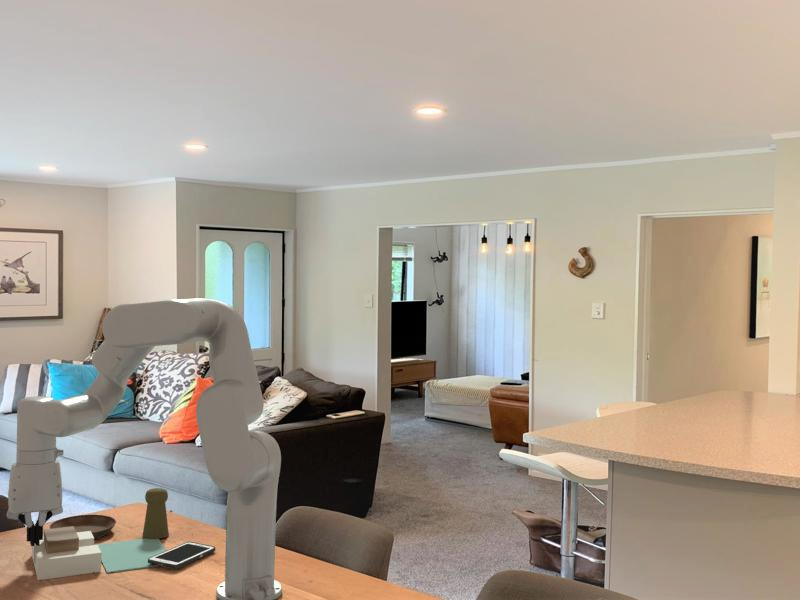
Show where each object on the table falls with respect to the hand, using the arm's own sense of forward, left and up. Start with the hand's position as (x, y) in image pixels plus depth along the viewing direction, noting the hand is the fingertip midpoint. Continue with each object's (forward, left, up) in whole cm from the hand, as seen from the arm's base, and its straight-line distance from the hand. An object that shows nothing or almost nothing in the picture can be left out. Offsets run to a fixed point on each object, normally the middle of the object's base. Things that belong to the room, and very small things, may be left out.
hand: (34, 543), depth 168 cm
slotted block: (0, -6, -5) cm, 8 cm away
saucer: (+20, -12, -6) cm, 24 cm away
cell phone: (-7, -29, -5) cm, 30 cm away
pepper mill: (+11, -27, -5) cm, 30 cm away
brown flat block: (0, -5, -1) cm, 5 cm away
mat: (0, -20, -5) cm, 21 cm away
